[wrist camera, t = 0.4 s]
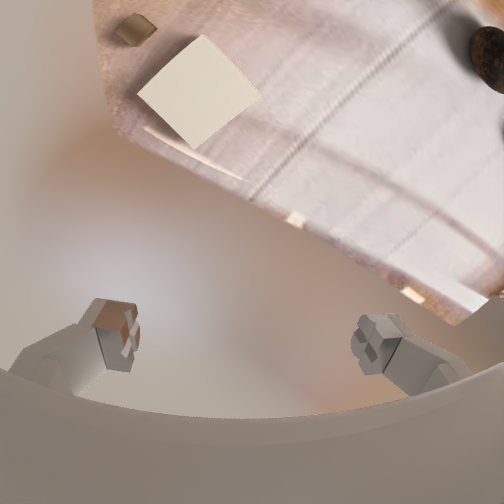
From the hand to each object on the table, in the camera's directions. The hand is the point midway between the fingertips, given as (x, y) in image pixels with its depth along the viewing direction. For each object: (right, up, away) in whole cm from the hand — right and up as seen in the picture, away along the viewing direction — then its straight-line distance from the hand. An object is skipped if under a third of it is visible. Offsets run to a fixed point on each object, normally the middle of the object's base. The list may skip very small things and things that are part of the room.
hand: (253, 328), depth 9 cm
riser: (-10, +34, +36) cm, 51 cm away
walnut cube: (-22, +46, +27) cm, 57 cm away
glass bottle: (+57, +52, +24) cm, 81 cm away
